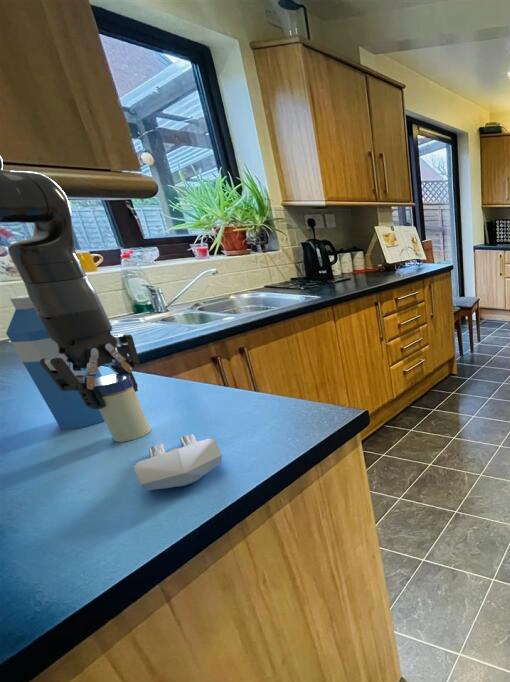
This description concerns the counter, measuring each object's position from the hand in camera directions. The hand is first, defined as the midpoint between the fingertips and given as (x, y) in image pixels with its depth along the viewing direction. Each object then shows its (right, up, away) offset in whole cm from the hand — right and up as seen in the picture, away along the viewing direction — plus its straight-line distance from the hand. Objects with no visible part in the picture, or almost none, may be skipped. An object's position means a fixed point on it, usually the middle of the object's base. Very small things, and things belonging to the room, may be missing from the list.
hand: (115, 399), depth 72 cm
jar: (0, -7, +3) cm, 7 cm away
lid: (0, +3, -1) cm, 4 cm away
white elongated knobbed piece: (+18, -11, -7) cm, 23 cm away
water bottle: (-15, -4, +10) cm, 18 cm away
